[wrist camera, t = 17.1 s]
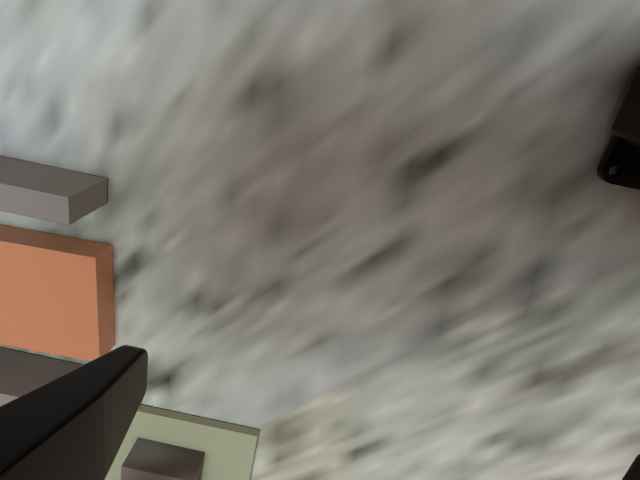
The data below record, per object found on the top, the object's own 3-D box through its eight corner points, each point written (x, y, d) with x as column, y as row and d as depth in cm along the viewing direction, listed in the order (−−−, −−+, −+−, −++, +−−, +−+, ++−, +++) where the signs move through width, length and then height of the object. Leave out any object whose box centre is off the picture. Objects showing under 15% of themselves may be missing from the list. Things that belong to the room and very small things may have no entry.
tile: (117, 241, 22) (95, 257, 20) (118, 339, 25) (99, 362, 23) (-1, 220, 22) (-33, 234, 21) (12, 320, 25) (-15, 341, 23)
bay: (107, 178, 21) (68, 197, 18) (106, 386, 25) (75, 426, 23) (-67, 141, 21) (-133, 154, 18) (-35, 356, 25) (-83, 393, 23)
